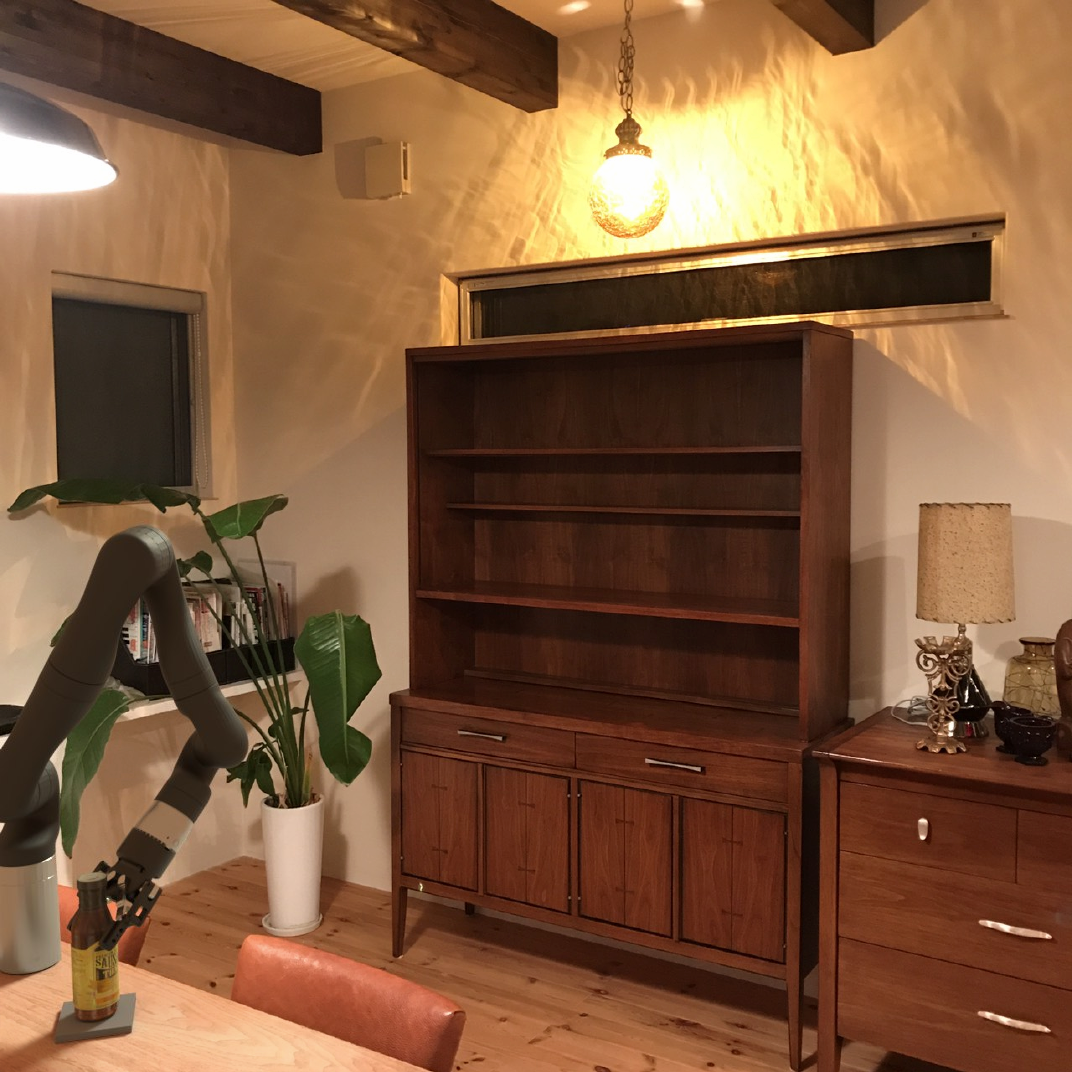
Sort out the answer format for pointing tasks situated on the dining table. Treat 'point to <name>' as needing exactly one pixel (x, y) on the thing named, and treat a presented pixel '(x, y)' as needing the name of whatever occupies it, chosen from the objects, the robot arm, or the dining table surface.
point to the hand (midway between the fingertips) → (87, 940)
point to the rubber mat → (96, 1022)
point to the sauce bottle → (93, 953)
